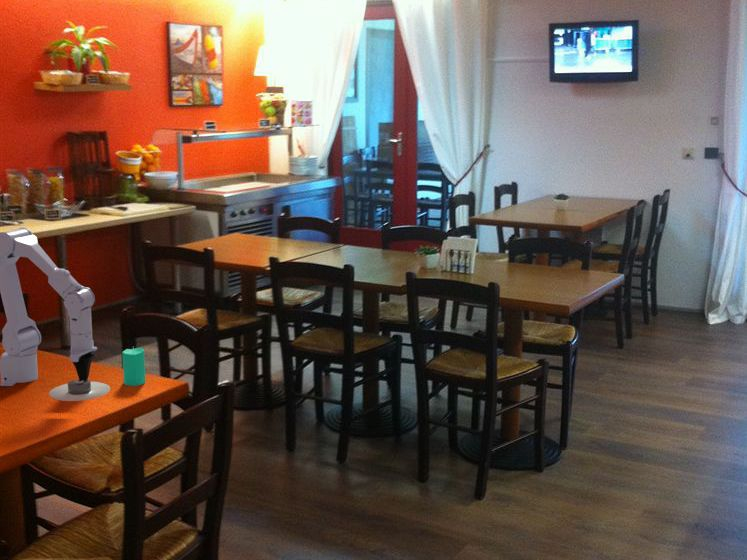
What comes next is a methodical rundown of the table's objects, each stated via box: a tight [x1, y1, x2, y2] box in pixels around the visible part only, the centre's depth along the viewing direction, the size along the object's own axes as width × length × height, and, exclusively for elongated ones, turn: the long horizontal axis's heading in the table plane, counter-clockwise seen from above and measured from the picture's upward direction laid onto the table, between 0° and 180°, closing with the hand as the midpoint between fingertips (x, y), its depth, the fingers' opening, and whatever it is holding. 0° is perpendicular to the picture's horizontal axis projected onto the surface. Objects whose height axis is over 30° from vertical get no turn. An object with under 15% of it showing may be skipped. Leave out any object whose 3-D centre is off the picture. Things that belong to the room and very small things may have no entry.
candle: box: [121, 347, 146, 387], centre depth 254 cm, size 6×6×12 cm
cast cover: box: [67, 378, 92, 395], centre depth 247 cm, size 6×6×3 cm
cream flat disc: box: [48, 381, 111, 402], centre depth 247 cm, size 16×16×1 cm
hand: (83, 379), depth 250 cm, fingers closed
